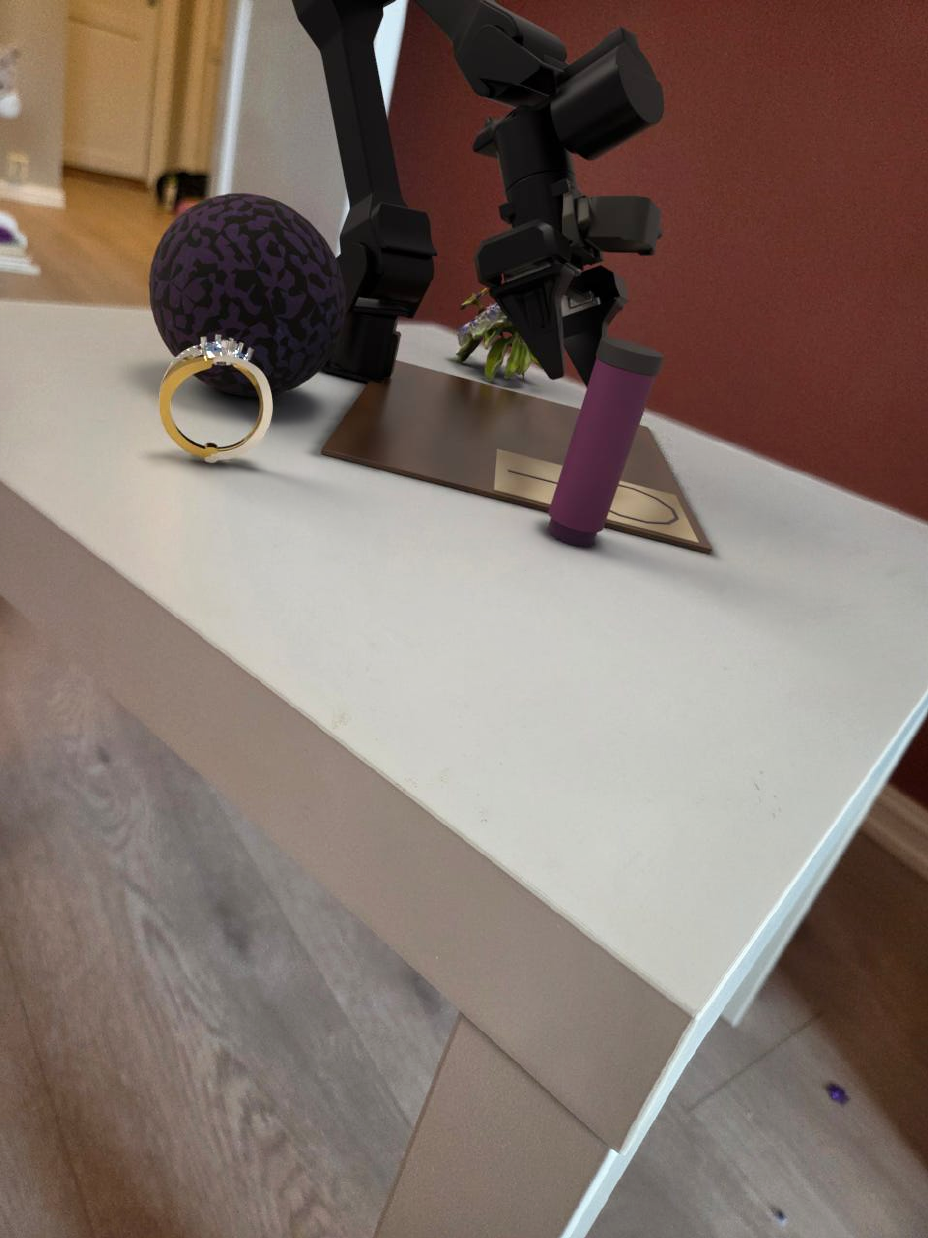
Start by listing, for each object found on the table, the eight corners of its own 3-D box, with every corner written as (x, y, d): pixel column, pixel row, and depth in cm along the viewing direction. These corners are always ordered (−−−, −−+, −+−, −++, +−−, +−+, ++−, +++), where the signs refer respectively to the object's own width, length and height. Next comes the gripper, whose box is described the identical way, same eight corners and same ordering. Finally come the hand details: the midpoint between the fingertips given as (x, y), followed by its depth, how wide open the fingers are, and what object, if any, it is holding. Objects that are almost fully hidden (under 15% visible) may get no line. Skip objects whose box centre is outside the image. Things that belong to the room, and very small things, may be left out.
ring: (261, 458, 60) (278, 341, 57) (266, 476, 58) (284, 354, 54) (153, 444, 58) (164, 320, 54) (153, 461, 55) (165, 333, 52)
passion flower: (451, 406, 108) (452, 313, 109) (539, 410, 109) (539, 317, 110) (458, 370, 97) (460, 267, 98) (556, 375, 98) (556, 272, 99)
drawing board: (320, 453, 65) (321, 446, 64) (385, 360, 97) (386, 355, 96) (710, 554, 66) (713, 547, 66) (647, 430, 99) (648, 425, 98)
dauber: (542, 539, 60) (604, 343, 54) (541, 518, 64) (598, 332, 58) (601, 554, 61) (669, 361, 55) (596, 532, 64) (659, 349, 58)
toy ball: (182, 351, 79) (200, 169, 73) (344, 395, 80) (377, 219, 73) (108, 386, 66) (122, 167, 59) (303, 439, 66) (339, 227, 60)
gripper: (600, 98, 58) (645, 336, 58) (668, 185, 74) (702, 370, 75) (452, 165, 63) (495, 383, 63) (547, 232, 79) (580, 405, 80)
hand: (577, 384), depth 70 cm, fingers open, 9 cm apart
